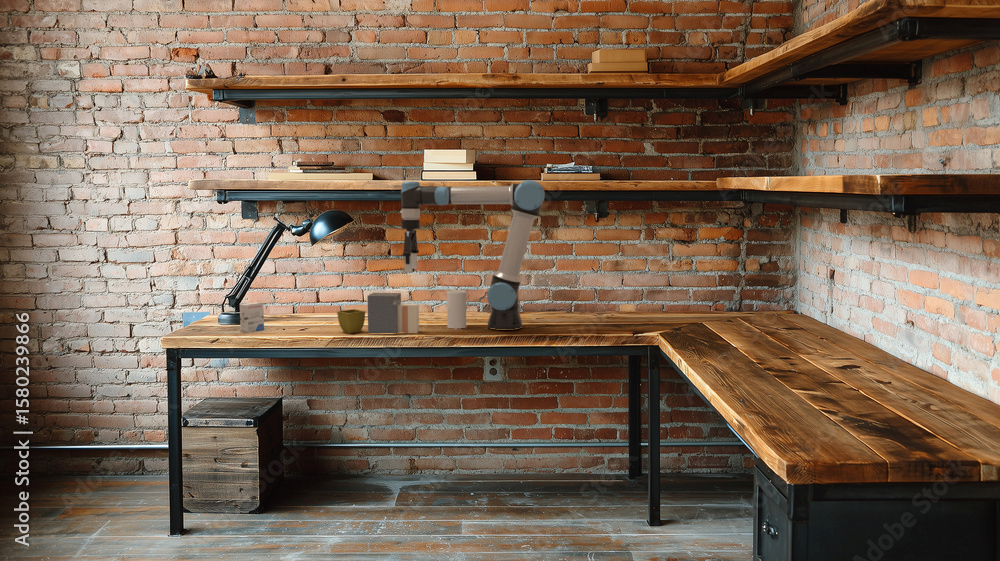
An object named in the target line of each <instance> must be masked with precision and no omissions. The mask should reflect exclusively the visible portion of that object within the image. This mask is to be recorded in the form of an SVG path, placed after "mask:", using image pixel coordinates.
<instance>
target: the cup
mask: <svg viewBox="0 0 1000 561" xmlns="http://www.w3.org/2000/svg"><path fill="white" fill-rule="evenodd" d="M446 298H447V299H446V315H447V316H446V317H447V318H446V319H447V320H446V322H447V324H446V326H447V327H448V328H455V329H454V330H458V329H457V328H465V327H466V328H467V291H466V290H462V289H461V290H460V289H451V290H447V291H446ZM448 328H447V329H448ZM466 328H465V329H466Z"/></svg>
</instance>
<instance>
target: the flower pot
mask: <svg viewBox="0 0 1000 561" xmlns="http://www.w3.org/2000/svg"><path fill="white" fill-rule="evenodd" d="M336 313H337V319H338V324H339V327H340V329H341V330H342V331H343V333H347V332H348V333H347V334H353V332H355V333H360V332H361V331H362V329H363V327H364V324H365V321H366V320H365V319H366V318H365V317H366V310H359V309H355V308H353V309H345V310H337V311H336Z"/></svg>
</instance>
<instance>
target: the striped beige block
mask: <svg viewBox="0 0 1000 561" xmlns="http://www.w3.org/2000/svg"><path fill="white" fill-rule="evenodd" d="M419 306H420V305H419V303H412V302H411V303H404V302H403V303H402V302H401V303H398V304H397V320H398V332H405V333H417V332H418V331H419V332H420V308H419ZM419 332H418V333H419ZM418 333H417V334H418Z"/></svg>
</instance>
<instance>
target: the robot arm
mask: <svg viewBox="0 0 1000 561" xmlns="http://www.w3.org/2000/svg"><path fill="white" fill-rule="evenodd" d="M400 189H401V190H400V197H401V200H400V201H401V204H400V205H401V210H400V211H399V213H400V214H401V221H400V222H401V229H403V230H406V231H404V242H403V243H404V244H403V253H402V257H404V273H412V270H413V269H415V270H417V269H418V254H419V253H420V252H419V249H418V239H417V230H418V229H420V228H421V222H420V221H421V220H420V218H421V209H420V208H421V207H420V206H421V205H422V206H423V205H426V206H427V205H428V206H447V205H510V206H511V212H512V213H513V216H512V219H511V223H510V227H509V230H508V234H507V238H506V241H505V245H504V249H503V252H502V257H501V260H500V264H499V267H498V270H497V271H495V272H494V273H493V275H492V277H491V281H490V286H489V288H488V290H487V291H486V292H487V293H486V298H487V302H488V304H489V305H490V306H491V312H490V315H489V318H488V321H487V328H488V327H490V328H495V329H515V328H520V327H522V328H523V320H522V317H521V314H520V312H519V290H520V285H521V281H522V280H521V279H520V277H519V275H520V271H521V268H522V264H523V261H524V257H525V254H526V249H527V247H528V243H529V239H530V236H531V231H532V228H533V225H534V221H535V220H536V219H538V218H540V213H541V210H542V207H543V202H544V201H545V200H546V199H545V198H546V192H545V189H544V186H542V184H540V183H539V182H538V181H535V180H532V179H527V180H524V181H522V182H520V183H512V184H511V185H503V186H502V185H501V186H500V185H498V186H497V185H492V186H489V185H488V186H486V185H483V186H481V185H480V186H478V185H477V186H442V185H441V186H440V185H439V186H435V185H434V186H424V185H423V186H421V185H420V182H419V181H403V182H401V188H400Z"/></svg>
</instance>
